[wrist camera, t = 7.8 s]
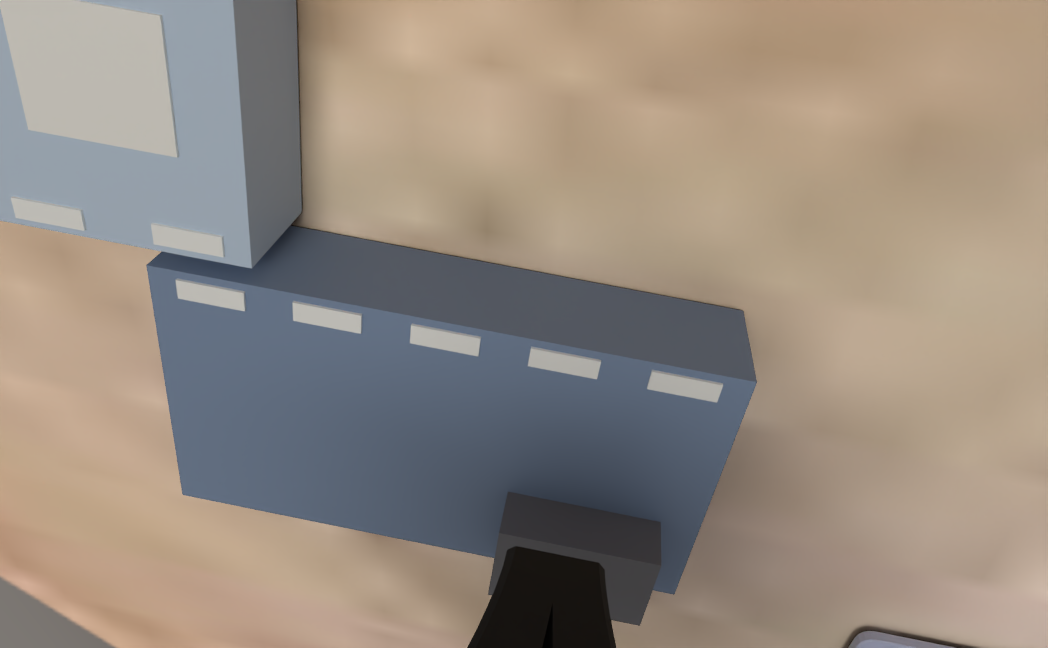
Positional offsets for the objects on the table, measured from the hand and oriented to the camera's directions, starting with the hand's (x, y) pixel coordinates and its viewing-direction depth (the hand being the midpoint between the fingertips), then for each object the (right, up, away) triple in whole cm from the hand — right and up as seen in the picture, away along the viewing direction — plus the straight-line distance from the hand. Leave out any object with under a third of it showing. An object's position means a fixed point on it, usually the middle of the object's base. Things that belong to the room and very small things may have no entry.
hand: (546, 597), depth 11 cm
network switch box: (-2, +3, +11) cm, 11 cm away
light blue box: (-9, +10, +7) cm, 15 cm away
